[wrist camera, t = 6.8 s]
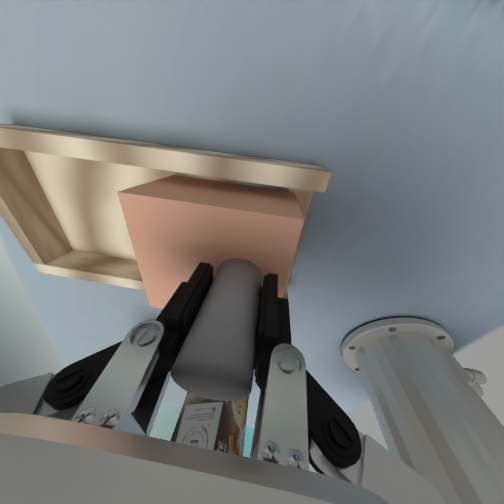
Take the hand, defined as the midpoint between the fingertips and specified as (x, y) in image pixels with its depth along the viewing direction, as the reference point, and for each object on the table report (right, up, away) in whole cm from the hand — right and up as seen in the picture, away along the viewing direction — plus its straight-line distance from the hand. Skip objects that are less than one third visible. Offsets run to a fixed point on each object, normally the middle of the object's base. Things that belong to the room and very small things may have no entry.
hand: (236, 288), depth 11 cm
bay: (-7, +6, +7) cm, 12 cm away
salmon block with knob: (-1, +4, +6) cm, 7 cm away
